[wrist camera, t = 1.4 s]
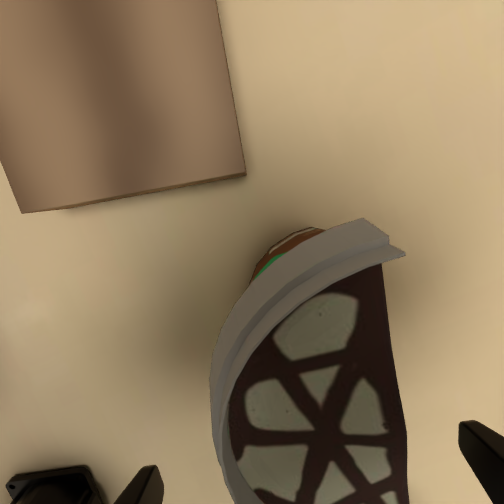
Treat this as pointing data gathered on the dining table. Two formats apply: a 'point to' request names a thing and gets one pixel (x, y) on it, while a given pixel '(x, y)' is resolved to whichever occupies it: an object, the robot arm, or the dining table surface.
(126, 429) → the dining table surface
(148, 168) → the base board
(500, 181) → the dining table surface
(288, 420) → the food container
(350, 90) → the dining table surface
